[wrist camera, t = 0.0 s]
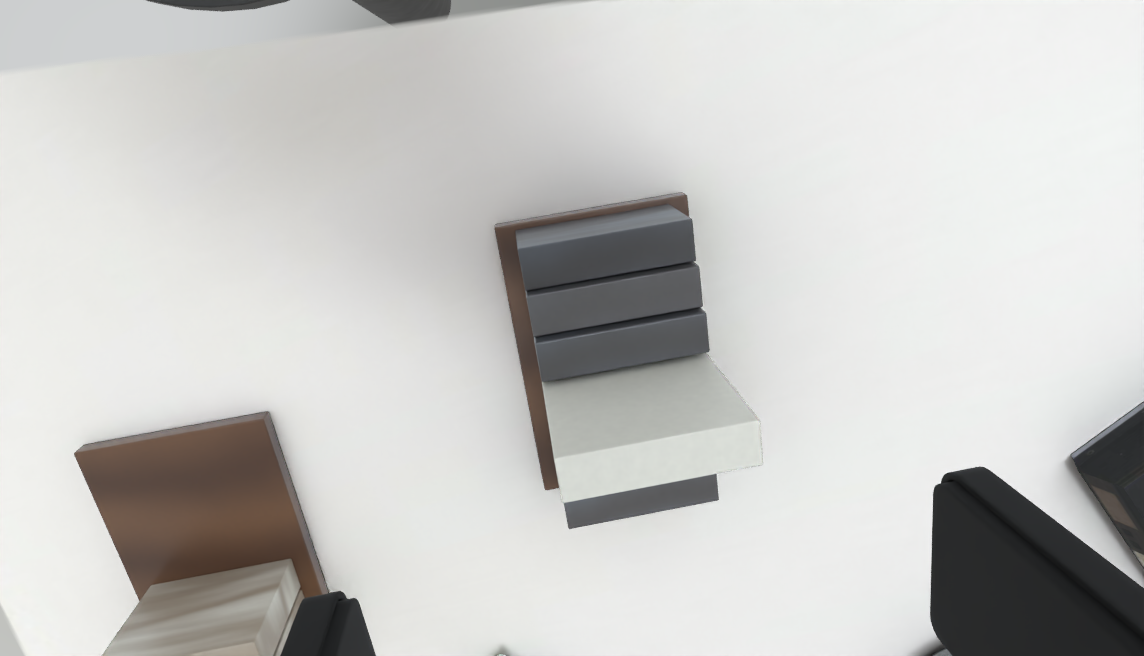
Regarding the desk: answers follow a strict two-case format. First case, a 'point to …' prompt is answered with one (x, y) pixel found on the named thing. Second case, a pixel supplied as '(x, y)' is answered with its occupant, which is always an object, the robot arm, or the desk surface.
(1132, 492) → the portable cd player
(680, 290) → the grey book row
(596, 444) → the white book
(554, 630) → the desk surface
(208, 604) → the leaning book row
